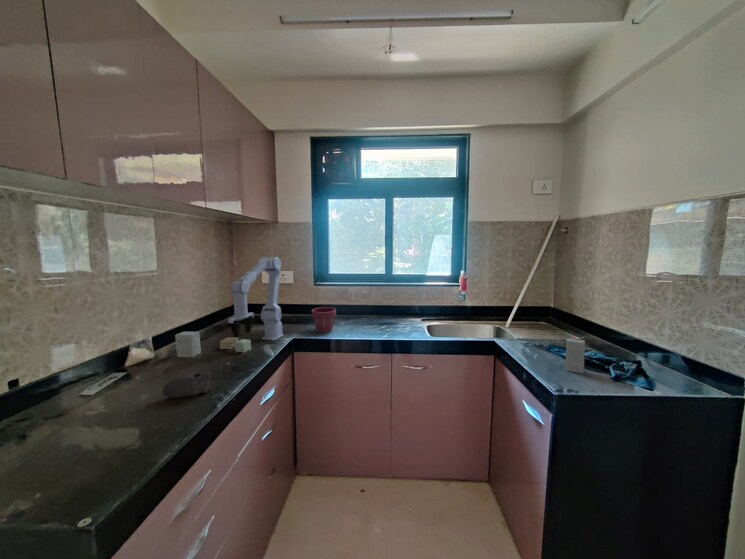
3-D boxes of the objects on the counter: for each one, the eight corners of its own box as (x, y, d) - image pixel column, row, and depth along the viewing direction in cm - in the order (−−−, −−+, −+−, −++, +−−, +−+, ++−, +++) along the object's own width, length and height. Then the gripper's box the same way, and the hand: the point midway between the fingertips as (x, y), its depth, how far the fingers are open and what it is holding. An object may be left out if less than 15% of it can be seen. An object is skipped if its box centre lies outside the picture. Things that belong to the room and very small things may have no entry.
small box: (201, 353, 141) (199, 331, 140) (193, 357, 135) (191, 335, 134) (185, 353, 142) (183, 331, 141) (176, 357, 136) (174, 334, 135)
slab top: (227, 341, 152) (227, 337, 152) (238, 342, 151) (238, 337, 151) (220, 345, 146) (220, 341, 146) (232, 346, 145) (231, 341, 145)
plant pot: (334, 334, 171) (334, 311, 169) (310, 334, 171) (309, 312, 169) (337, 327, 185) (337, 307, 184) (314, 327, 185) (314, 307, 184)
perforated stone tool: (160, 403, 96) (159, 382, 95) (165, 395, 100) (163, 375, 100) (213, 394, 101) (212, 374, 100) (215, 388, 106) (214, 369, 105)
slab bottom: (229, 346, 152) (229, 341, 152) (239, 347, 151) (238, 342, 150) (220, 349, 147) (219, 345, 146) (230, 351, 145) (229, 346, 145)
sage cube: (242, 349, 147) (242, 339, 146) (251, 350, 145) (250, 340, 145) (235, 352, 142) (234, 342, 142) (243, 353, 141) (243, 343, 140)
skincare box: (583, 370, 117) (585, 340, 116) (583, 374, 114) (585, 343, 113) (565, 366, 121) (566, 337, 120) (564, 370, 117) (566, 340, 116)
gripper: (244, 303, 150) (246, 329, 151) (222, 308, 136) (223, 338, 137) (256, 303, 147) (257, 331, 149) (234, 309, 134) (236, 339, 135)
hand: (242, 334), depth 143 cm, fingers open, 7 cm apart
